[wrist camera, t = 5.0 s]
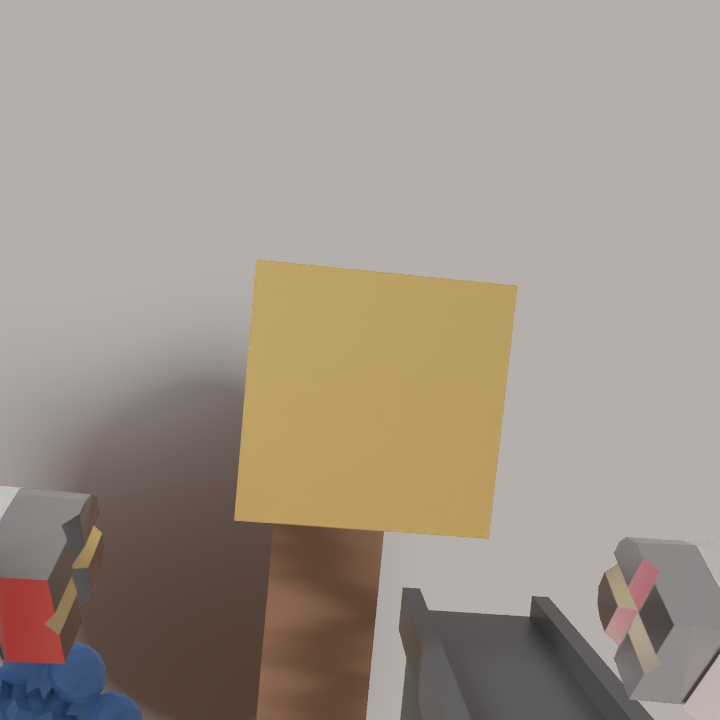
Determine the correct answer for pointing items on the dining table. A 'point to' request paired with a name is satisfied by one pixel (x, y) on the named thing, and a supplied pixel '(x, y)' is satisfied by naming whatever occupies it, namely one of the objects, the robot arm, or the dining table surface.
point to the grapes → (62, 690)
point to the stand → (319, 623)
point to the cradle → (504, 667)
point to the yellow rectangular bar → (373, 400)
